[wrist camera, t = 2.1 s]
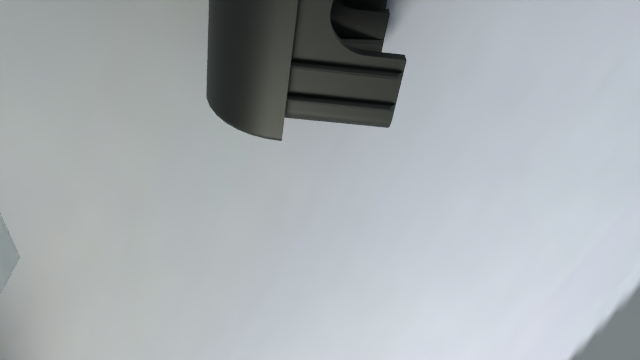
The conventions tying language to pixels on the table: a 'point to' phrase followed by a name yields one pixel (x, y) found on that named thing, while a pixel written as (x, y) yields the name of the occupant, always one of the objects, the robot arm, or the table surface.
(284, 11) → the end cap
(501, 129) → the table surface
